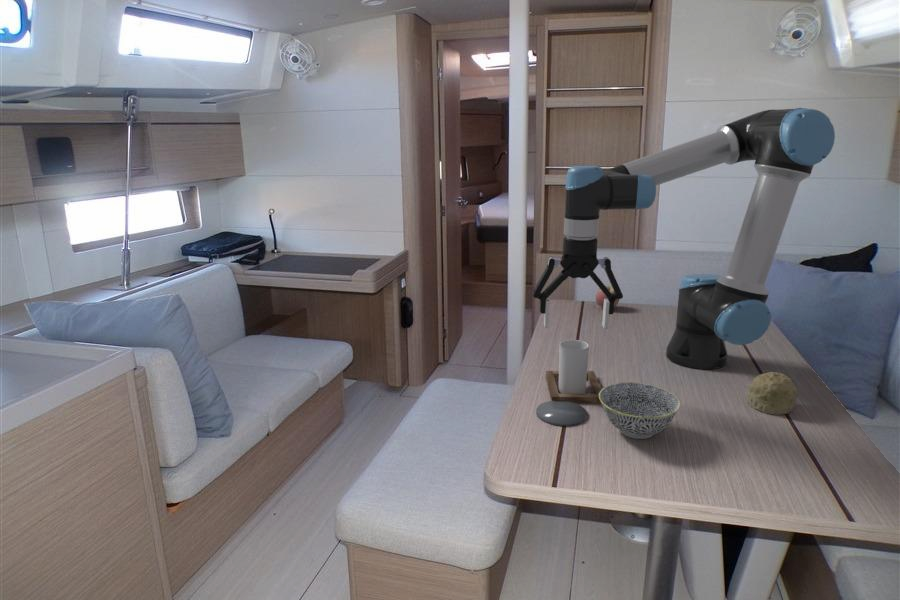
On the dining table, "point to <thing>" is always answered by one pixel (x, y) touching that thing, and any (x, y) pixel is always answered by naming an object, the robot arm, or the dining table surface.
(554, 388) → the holder
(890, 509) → the dining table surface
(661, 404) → the bowl
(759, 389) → the decorative object
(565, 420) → the coaster
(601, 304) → the apple
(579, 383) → the mug
